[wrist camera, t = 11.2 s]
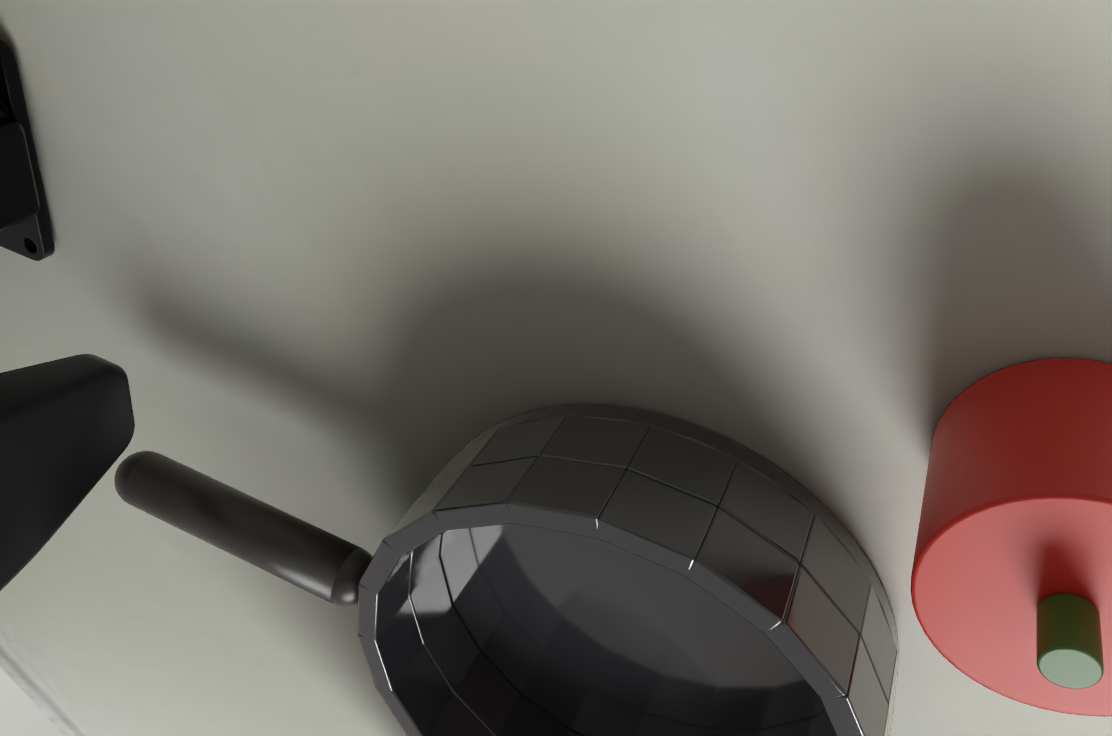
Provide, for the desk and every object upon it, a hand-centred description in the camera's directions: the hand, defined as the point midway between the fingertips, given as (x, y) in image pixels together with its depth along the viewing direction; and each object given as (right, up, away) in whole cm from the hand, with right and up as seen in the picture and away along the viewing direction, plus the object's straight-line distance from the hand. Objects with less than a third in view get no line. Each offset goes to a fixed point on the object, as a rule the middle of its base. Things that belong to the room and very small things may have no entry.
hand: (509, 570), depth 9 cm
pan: (+3, -5, +16) cm, 17 cm away
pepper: (+10, 0, +9) cm, 14 cm away
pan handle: (-8, -2, +17) cm, 19 cm away
